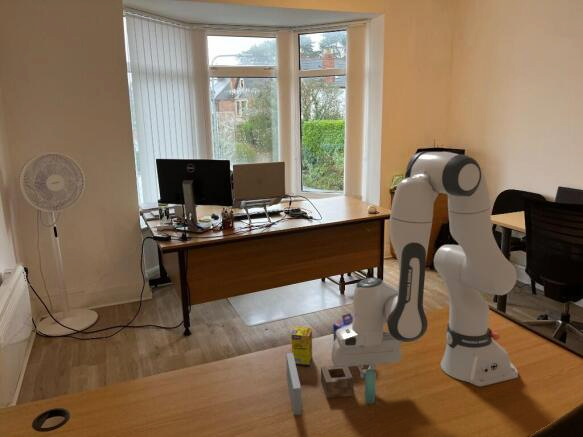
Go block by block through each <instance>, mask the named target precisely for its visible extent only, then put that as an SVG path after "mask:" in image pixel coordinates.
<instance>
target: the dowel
mask: <svg viewBox="0 0 583 437" xmlns="http://www.w3.org/2000/svg"><path fill="white" fill-rule="evenodd" d="M367 369H368V368H367ZM365 370H366V369H365ZM376 376H377V372H376V371H375V369H374V370H372V369H368V370H366V377H365V378H364V379H365V380H364V381H365V382H364V384H365V385H364V386H365V388H364V390H365V391H364V402H365V403H366V404H368V405H372V404H374V403H376V386H377V384H376V380H377V378H376Z"/></svg>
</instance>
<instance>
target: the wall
mask: <svg viewBox="0 0 583 437" xmlns="http://www.w3.org/2000/svg"><path fill="white" fill-rule="evenodd" d="M285 355H286V357H285V358H286V380H287V384H288V391H289V394H290V400H291V406H292V410H293V415H294V416H298V415H302V388H301V382H300V379H299V373H298V369H297V365H295V360H294V356H293V353H292V352H288V353H286V354H285Z"/></svg>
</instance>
